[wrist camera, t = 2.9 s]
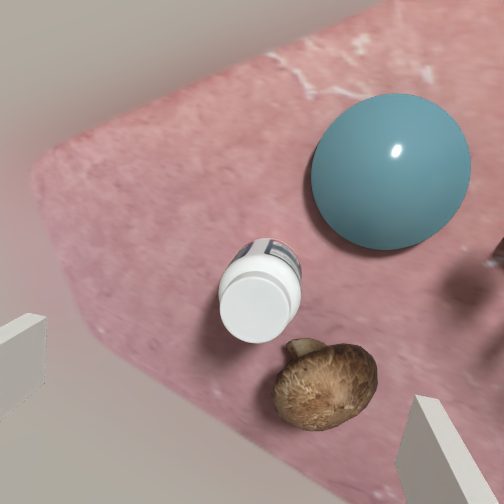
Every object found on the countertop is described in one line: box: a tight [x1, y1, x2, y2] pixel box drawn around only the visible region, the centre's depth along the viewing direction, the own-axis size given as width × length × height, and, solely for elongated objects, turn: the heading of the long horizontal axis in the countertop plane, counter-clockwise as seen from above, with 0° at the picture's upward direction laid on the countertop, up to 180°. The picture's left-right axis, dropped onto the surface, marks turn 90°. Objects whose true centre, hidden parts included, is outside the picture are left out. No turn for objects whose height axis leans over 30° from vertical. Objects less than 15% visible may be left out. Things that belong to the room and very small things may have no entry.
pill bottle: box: [218, 238, 302, 343], centre depth 26 cm, size 5×5×9 cm
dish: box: [311, 94, 471, 250], centre depth 27 cm, size 10×10×1 cm
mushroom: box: [271, 338, 378, 431], centre depth 29 cm, size 8×8×6 cm
